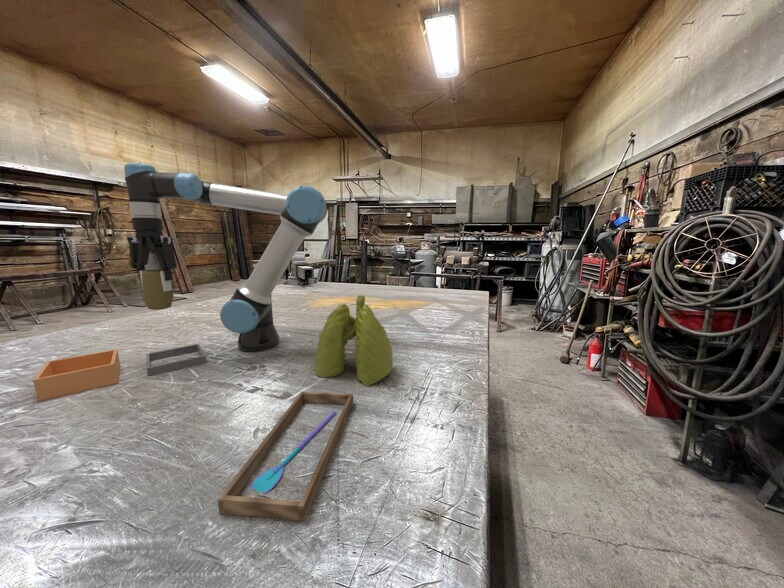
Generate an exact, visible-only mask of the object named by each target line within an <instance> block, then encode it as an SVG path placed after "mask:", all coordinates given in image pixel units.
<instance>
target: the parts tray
mask: <svg viewBox="0 0 784 588" xmlns="http://www.w3.org/2000/svg"><path fill="white" fill-rule="evenodd" d="M194 352H198V354H199V356H195V357H190V358H185V359H181V360H177V361H173V362H167V363H162V364H158V365H154V366H153V365H152V364H151V361H155V360H161V359H165V358H170V357H175V356H176V357H177V356H181V355H185V354H190V353H194ZM145 357H146V373H147V376H148V377H149V376H150V377H151V376H154V375H155V376H156V375H159V374H163V373H168V372H172V371H175V370H176V371H178V370H181V369H184V368H189V367H194V366H198V365H203V364H207V358H206V354H205V352H204V350H203V349H202V347H201V345H200V343H195V344H189V345H185V346H180V347H179V346H178V347H175V348H169V349H165V350H159V351H154V352H148V353H146V354H145Z"/></svg>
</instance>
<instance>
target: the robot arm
mask: <svg viewBox="0 0 784 588" xmlns="http://www.w3.org/2000/svg"><path fill="white" fill-rule="evenodd" d="M123 167H124V168H123V169H124V181H125V185H126V190H127V197H128V204H129V211H130V216H131V225H132V229H133V230H134V231H135V235H134V236H127V238H126V240H127V243H128V245H129V255H130V256H129V259H130V260H129V261H130V268H131V269H135V270H137V273H138V279H139V281H140V282H141V285H142V273H143V272H145V271H148V270H145V265H147V264H149V256H150V251H151V250H152V252H153V253H155V255H156V258H157V260H158V263H159V264H160V265H161V268H162V269H161V271H160V274H161V281H162V285H163V290H164V291H170V290H172V291H173V287H172V280H173V275H172V270H174V269H176V268H177V261H176V260H177V259H176V256H175V252H174V246H173V240H174V239H173V237H172V236H165V235H164V234H163V230H164V222H163V219H162V218H161V217H162V209H161V199H180V200H183V201H188V202H193V203H196V204H200V205H208V206H209V205H210V206H211V205H212V206H217V207H223V208H224V207H225V208H232V209H238V210H245V211H252V212H257V213H258V212H259V213H265V214H272V215H276V216H278V215H279V217H280V225H279V226H278V228H277V230H276V231H275V233H274V234H273V237H272V238H271V240H270V242H269V243H268V245H267V246H266V249H264V252H263V254H262V255H261V257H260V259H259V260H258V261H257V263H256V266H255V267H254V269H253V271H252V272H251V273H250V275H249V277H248V278H247V280H246V282H245V283H244V284H241V285H238V286H237V288H236V289H235V291H234V293H233V295H232V296H231V298H230V300H228V301H226V302H225V303H224V304H223V306H222V308H221V309H220V313H219V317H220V320H221V323H222V325H223V326H224V327H225V329H227V330H228V331H230V332H232V333H235V334H239V335H238V339H237V349H238V350H240V351H242V352H261V351H265V350H269V349H272V348H276V347H277V346H278V345H279V344H280V342H281V341H280V336H279V333H278V332H277V331H278V330H277V329H276V326H275V325H274V315H273V304H272V303H273V301H272V297H273V296H272V293H273V291H274V290H275V287H277V285H278V283H279V282H280V279H281V278H282V276H283V274H284V273H285V271H286V269H287V268H288V266H289V264H290V262H291V261H292V259H293V258H294V256H295V254H296V253H297V251H298V249H299V248H300V246H301V244H302V243H303V242H304V240H305V238H306V237H309V236H313V234H314V231H316V228H317V227H318V225H319V224H320V223H321V222H323V221H324V219H325V218H326V217H327V213H328V204H327V201H326V200H325V197H324V196H323V194H322V192H320V191H319V190H318V189H316V188H314V187H313V186H309V185H299V186H296V187H294V188H293V189H292V190H291V191H290V192H289V193H287V194H284V193H278V192H271V191H265V190H259V189H255V188H254V189H253V188H247V187H246V188H245V187H241V186H232V185H229V184H228V185H227V184H221V183H215V182H208V181H201V179H200V178H199V176H198V175H197V174H195V173H188V172H157V170H156V168H155V166H153V165H151V164H145V163H138V162H129V163H128V162H127V163H126V164H125V165H124V166H123Z"/></svg>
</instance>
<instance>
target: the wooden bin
mask: <svg viewBox="0 0 784 588" xmlns="http://www.w3.org/2000/svg"><path fill="white" fill-rule="evenodd" d="M119 356H120V355H119V351H118V348H116V349H115V348H114V349H110V350H103V351H99V352H92V353H88V354H83V355H75V356H71V357H65V358H64V357H63V358H60V359H54V360H49V361H46V362H45V363H44V365H43V367H41V369H40V370H39V372H38V373H37V374H36V375H35V376H34V378H33V380H32V382H33V387H34V390H35V394H36V400H37V402H41V401H47V400H51V399H55V398H59V397H63V396H68V395H72V394H78V393H81V392H85V391H90V390H94V389H98V388H103V387H107V386H110V385H111V386H112V385H116V384H118V383H119V377H120V372H121V361H120V357H119Z"/></svg>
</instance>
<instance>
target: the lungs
mask: <svg viewBox="0 0 784 588" xmlns="http://www.w3.org/2000/svg"><path fill="white" fill-rule="evenodd" d="M355 300H356V301H355V304H356V306H355V309H356V311H355V312H356V313H355V317H354V316H352V315H351V314H350V313H351V311H350V308H349V306H348V305H347V304H346V303H342V304H339V305H338V306H337V307H335V308H334V309H333V310H332V311H331V312H330V313H329V315H328V316H327V318H326V321H325V323H324V325H323V327H322V331H321V332H320V335H319V339H318V343H317V348H316V354H315V356H316V357H315V358H314V362H315V363H314V364H315V367H314V373H315V374H316V376H317V377H321V378H327V377H328V378H332V377H333V378H334V377H337V376H339V375H341V374H342V373H343V372H344V370H345V362H346V358H347V354H346V345H347V344H348V340H350V341H351V340H352V339H353V338H355V353H354V354H355V358H354V359H355V366H356V377H357V380H358V382H360V381H361V383H362V384H363V385H364V386H366V387H368V386H372V385H373V384H376V383H377V382H379V381H381V380H382V379H384V378H385V377H387V376H388V375H389V374H390V373H391V371H392V369H393V364H394V363H393V362H394V358H393V348H392V345H391V341H390V339H389V337H388V336H387V331H386V329H385V327H384V326H383V325H382V323H381V322H380V321H379V319H378V318H377V317H376V316H375V313H374V311H373V310H372V309H371V307H370V306H369V305H368V304H365V303H366V297H365V295H358V296H357V297H356V299H355Z"/></svg>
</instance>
